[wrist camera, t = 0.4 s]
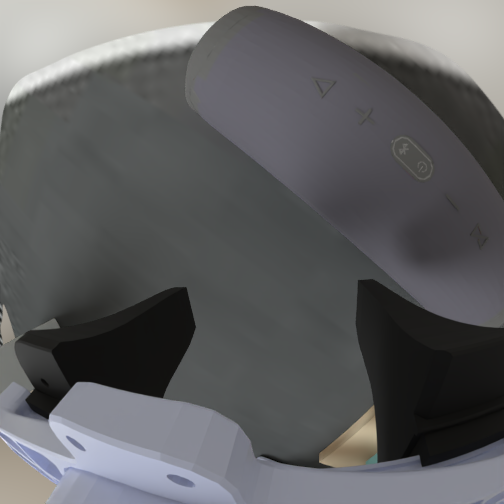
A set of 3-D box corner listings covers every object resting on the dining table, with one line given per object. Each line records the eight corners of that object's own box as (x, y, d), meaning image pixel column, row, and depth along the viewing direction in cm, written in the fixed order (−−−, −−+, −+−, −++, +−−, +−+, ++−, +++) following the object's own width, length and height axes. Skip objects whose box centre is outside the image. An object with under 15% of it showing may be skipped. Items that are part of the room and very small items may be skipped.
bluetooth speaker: (482, 226, 18) (559, 247, 9) (421, 308, 21) (476, 370, 11) (281, 47, 18) (266, -31, 9) (210, 130, 21) (147, 90, 11)
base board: (393, 473, 25) (395, 480, 23) (319, 453, 25) (319, 462, 24) (493, 377, 20) (499, 383, 19) (432, 337, 21) (438, 344, 19)
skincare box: (56, 370, 30) (-11, 423, 16) (33, 334, 30) (-38, 379, 15) (81, 354, 28) (0, 418, 14) (54, 313, 28) (-35, 364, 13)
